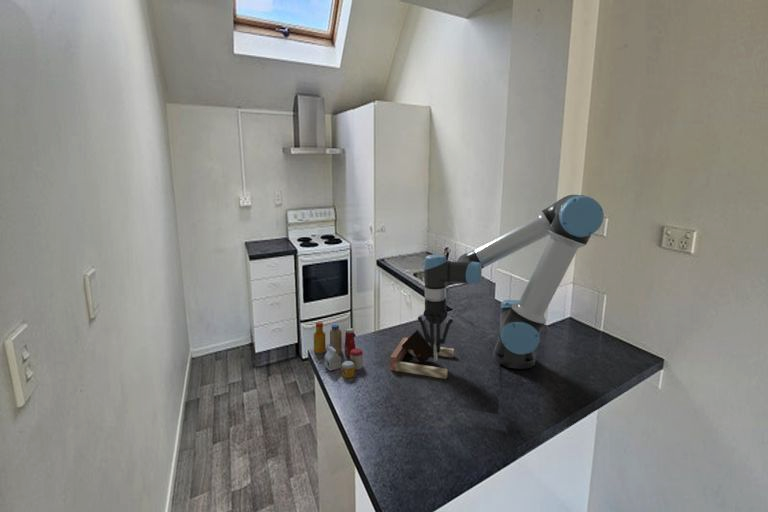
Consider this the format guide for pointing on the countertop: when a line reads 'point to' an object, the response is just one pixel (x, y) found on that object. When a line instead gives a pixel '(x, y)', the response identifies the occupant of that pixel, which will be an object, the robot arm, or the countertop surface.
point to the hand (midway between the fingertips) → (435, 360)
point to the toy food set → (338, 350)
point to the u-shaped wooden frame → (417, 368)
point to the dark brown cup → (418, 347)
